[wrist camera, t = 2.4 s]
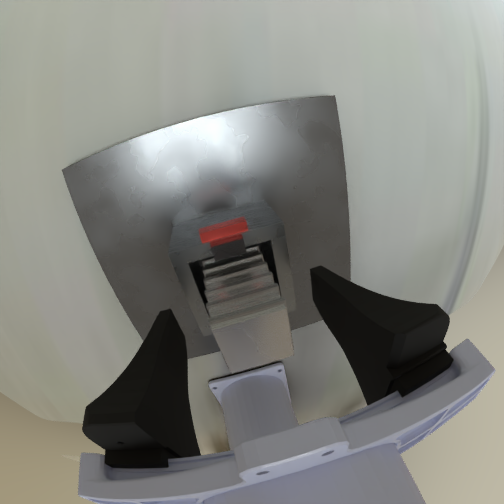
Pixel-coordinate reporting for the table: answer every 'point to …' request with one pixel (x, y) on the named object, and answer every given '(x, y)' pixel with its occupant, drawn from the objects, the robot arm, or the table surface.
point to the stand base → (218, 209)
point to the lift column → (246, 310)
